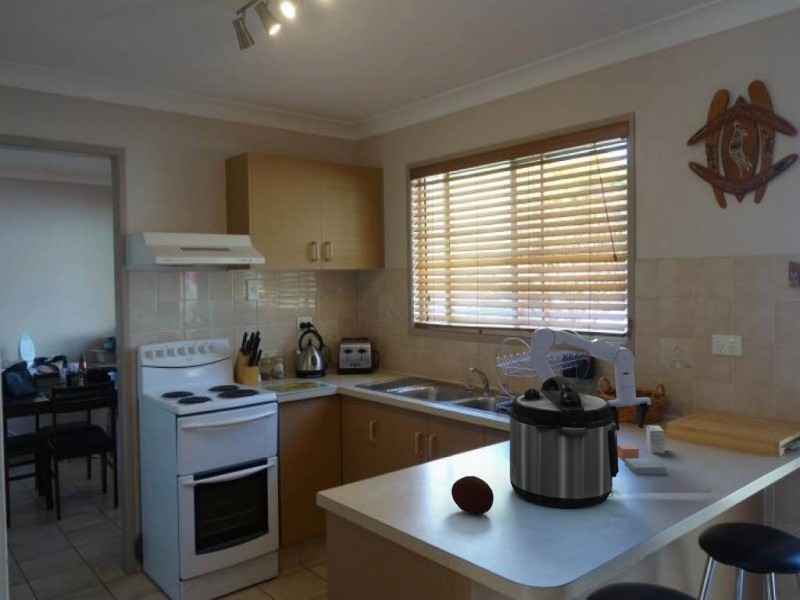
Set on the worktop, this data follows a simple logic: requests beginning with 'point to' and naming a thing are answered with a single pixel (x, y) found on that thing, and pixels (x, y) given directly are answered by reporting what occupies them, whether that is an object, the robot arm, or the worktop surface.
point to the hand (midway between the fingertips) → (628, 428)
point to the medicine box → (655, 439)
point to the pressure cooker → (562, 446)
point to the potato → (472, 495)
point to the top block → (645, 466)
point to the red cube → (627, 451)
